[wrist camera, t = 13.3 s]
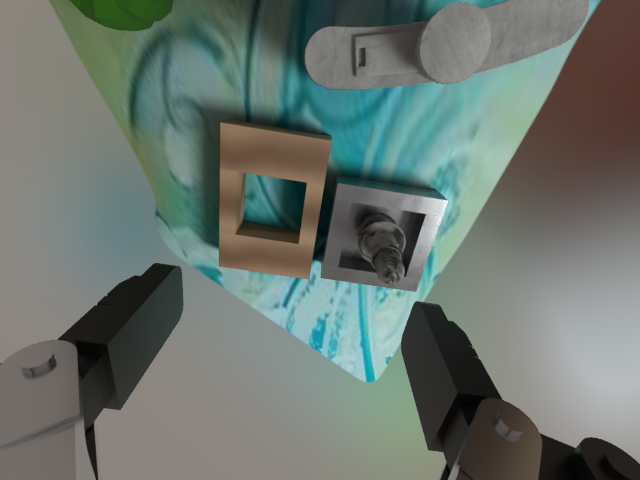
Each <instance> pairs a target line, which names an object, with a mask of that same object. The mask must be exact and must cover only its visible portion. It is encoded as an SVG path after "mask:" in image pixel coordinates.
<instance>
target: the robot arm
mask: <svg viewBox="0 0 640 480" xmlns="http://www.w3.org/2000/svg"><path fill="white" fill-rule="evenodd" d="M182 311H183V287H182V271H181V268H180V267H179V266H173V265H167V264H160V263H155V264H153V265H152V266H151V267H150V268H149V269H148V270H147V271H146V272H145V273H144V274H143V275H142V276H133V277H131V278H129V279H127V280H125V281H123V282H121V283H119V284H118V285H117V286H116V287H115V288H114V289H112V290H111V291H110V292H109V293H108V295H107V296H105V297H104V298H103V299H101V301H99V302H98V304H97V306H94V307H93V308H92V309H91V310H89V311H88V312H87V313H86V314H85V315H84V316H83V317H82V318H81V319H80V320H79V321H77V322H76V323H75V324H74V325H73V326H72V327H71V328H70V329H68V330H67V331H66V332H65V333H64V334H63V335H62V336H61V337H60V338H59V339H58V340H51V341H44V342H39V343H36V344H33V345H30V346H28V347H26V348H23V349H21V350H19V351H17V352H16V353H14V354H12V355H11V356H10V357H8V358H7V359H6V360H5V361H4V362H3V363H0V480H101V474H100V462H99V450H98V438H97V426H96V421H95V420H96V418H97V417H98V415H99V414H100V413H101V411H102V410H103V408H109V409H116V410H121V408H122V407H123V405H124V404H125V402H126V400H127V399H128V398H129V396H130V394H131V393H132V392H133V390H134V389H135V387H136V385H137V384H138V382H139V381H140V379H141V378H142V376H143V375H144V373H145V372H146V370H147V369H148V367H149V366H150V364H151V363H152V361H153V360H154V358H155V357H156V355H157V354H158V352H159V350H160V349H161V348H162V346H163V344H164V343H165V341H166V340H167V338H168V337H169V335H170V334H171V332H172V331H173V329H174V328H175V326H176V325H177V323H178V321H179V320H180V317H181V315H182ZM401 350H402V355H403V359H404V363H405V366H406V370H407V374H408V377H409V381H410V385H411V388H412V392H413V396H414V399H415V403H416V407H417V410H418V414H419V417H420V421H421V425H422V429H423V432H424V435H425V440H426V443H427V447H428V450H431V451H439V452H444V456H445V459H446V464H445V465H444V467H443V469H442V471H441V474H440V476H439V479H438V480H640V464H639V463H638V462H637V461H636V460H635V459H633V458H632V457H631V456H630V455H628V454H627V453H626V452H624V451H623V450H621V449H620V448H618V447H616V446H615V445H613V444H611V443H609V442H607V441H604V440H602V439H598V438H592V437H591V438H585V439H583V440H582V442H581V443H580V444H579V445H578V446H577V448H574V447H572V446H569V445H567V444H564V443H562V442H559V441H557V440H554V439H552V438H550V437H547V436H545V435H543V434H540V433H539V431H538V429H537V427H536V426H535V424H534V423H533V422H532V420H531V419H530V418H529V417H528V416H527V415H526V414H525V413H524V412H522V411H521V410H520V409H519V408H517V407H515V406H514V405H512V404H510V403H509V402H506V401H504V400H502V398H501V396H500V394H499V393H498V391H497V389H496V387H495V386H494V384H493V382H492V380H491V378H490V376H489V375H488V373H487V371H486V369H485V368H484V366H483V364H482V362H481V360H480V359H478V355H477V353H476V351H475V350H474V349H473V348H472V344H471V343H470V341H469V339H468V337H467V335H466V334H465V332H464V331H463V330H461V329H460V328H459V327H458V326H457V325H456V324H455V323H454V322H453V321H448V320H447V318H446V316H445V314H444V312H443V310H442V308H441V307H440V305H438V304H432V303H425V302H418V301H417V302H415V303H414V305H413V307H412V310H411V313H410V315H409V318H408V321H407V324H406V327H405V330H404V332H403V335H402V341H401Z"/></svg>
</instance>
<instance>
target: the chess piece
mask: <svg viewBox="0 0 640 480" xmlns="http://www.w3.org/2000/svg"><path fill="white" fill-rule="evenodd" d="M358 237H359V238H358V250H359V252H360V254H361V256H362V257H363V258H364V259H365V260H367V261H369V262H371V264H372V266H373V268H374V269H375V270H376V271H377V275H378V277H379V279H380V280H381V281H382V282H383V283H385V284H395V283H398V282H399V281H401V279H402V278H403V277H404V273H405V269H404V266H403V263H402V260H403V254H402V252H403V250H404V248H405V244H406V239H405V235H404V233H403V231H402V229H401V228H400V227H399V226H397V224H396V222H395V221H394V219H393V218H392V217H390V216H389V215H386V214H383V213H376V214H371V215H369V216H367V217H366V218H365V219H363V221H362V222H361V223H360V225H359V228H358Z"/></svg>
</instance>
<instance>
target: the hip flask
mask: <svg viewBox="0 0 640 480" xmlns="http://www.w3.org/2000/svg"><path fill="white" fill-rule="evenodd" d="M588 8H589V0H507V1H504V2H501V3H498V4H494V5H491V6H488V7H484V8H481V9H480V8H479V7H476V6H475V5H474V4H469V3H468V2H465V3H462V2H458V3H452V4H451V5H449V6H445V7H444V8H443V9H441V10H439V11H438V12H437V13H435V14H434V15H433V16H432V17H431V18H430V19H429V20H427V21H421V22H415V23H408V24H400V25H390V26H375V27H342V26H327V27H324V28H321V29H319V30H318V31H316V32H315V33H314V34H313V35H312V37H311V38H310V39H309V41H308V43H307V46H306V49H305V56H304V57H305V66H306V69H307V72H308V74H309V75H310V77H311V78H312V79H313V80H314V81H315V82H316V83H317V84H319V85H320V86H322V87H324V88H326V89H335V90H355V89H372V88H386V87H398V86H408V85H415V84H423V83H429V82H436V83H441V84H453V83H458V82H460V81H462V80H465V79H466V78H468V77H470V76H471V75H472V74H474V73H479V72H482V71H486V70H490V69H493V68H497V67H501V66H504V65H507V64H510V63H514V62H517V61H520V60H523V59H525V58H528V57H531V56H534V55H537V54H539V53H542V52H545V51H547V50H550V49H552V48H555V47H557V46H560V45H562V44H564V43H566V42H567V41H568V40H570V39H571V38H572V37H573V36H574V35H575V34H576V33H577V32H578V30H579V29H580V28H581V26H582V24H583V23H584V21H585V18H586V16H587V12H588Z"/></svg>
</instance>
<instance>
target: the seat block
mask: <svg viewBox="0 0 640 480" xmlns="http://www.w3.org/2000/svg"><path fill="white" fill-rule="evenodd" d="M447 202H448V200H447V199H446V198H445V197H444V196H443V195H442V194H440V193H439V192H438V191H437V190H430V189H424V188H418V187H412V186H405V185H399V184H393V183H386V182H380V181H374V180H368V179H361V178H355V177H349V176H343V175H337V178H336V184H335V189H334V195H333V201H332V206H331V212H330V217H329V223H328V229H327V234H326V240H325V245H324V251H323V257H322V262H321V278H325V279H332V280H339V281H346V282H353V283H359V284H366V285H373V286H380V287H387V288H394V289H401V290H407V291H414V292H416V291H417V288H418V285H419V282H420V279H421V276H422V273H423V271H424V268H425V265H426V262H427V259H428V256H429V253H430V251H431V248H432V245H433V242H434V239H435V236H436V234H437V231H438V228H439V225H440V222H441V219H442V216H443V214H444V211H445V208H446V205H447ZM376 213H383V214H386V215H389V216H390V217H392V218H393V219H394V221H395V222H396V224H397V226H399V227H400V228H401V229H402V231H403V233H404V235H405V239H406V244H405V248H404V250H403V252H402V254H403V260H402V263H403V266H404V269H405V273H404V277H403V278H402V279H401V281H399V282H398V283H395V284H385V283H383V282H382V281H381V280H380V279H379V277H378V275H377V271H376V270H375V269H374V268H373V266H372V264H371V262H369V261H367V260H365V259H364V258H363V257H362V256H361V254H360V252H359V250H358V238H359V237H358V228H359V225H360V223H361V222H362V221H363V219H365V218H366V217H367V216H369V215H371V214H376Z"/></svg>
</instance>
